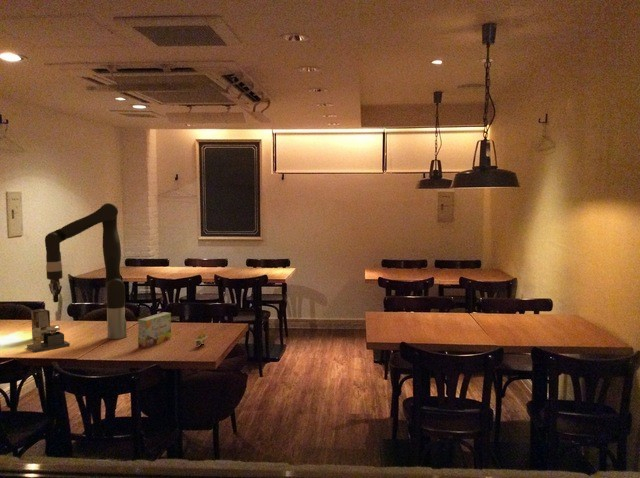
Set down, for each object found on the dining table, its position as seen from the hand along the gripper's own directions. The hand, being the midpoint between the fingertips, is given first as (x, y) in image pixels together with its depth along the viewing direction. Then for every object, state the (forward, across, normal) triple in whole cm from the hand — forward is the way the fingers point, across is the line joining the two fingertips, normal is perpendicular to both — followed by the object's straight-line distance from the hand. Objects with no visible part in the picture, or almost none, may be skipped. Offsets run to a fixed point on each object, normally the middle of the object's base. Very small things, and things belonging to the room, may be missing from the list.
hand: (56, 302), depth 276 cm
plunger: (+16, -4, +6) cm, 18 cm away
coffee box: (+22, +16, +3) cm, 28 cm away
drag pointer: (+18, -4, +11) cm, 21 cm away
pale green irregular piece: (+24, -60, -51) cm, 82 cm away
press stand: (+22, -4, +6) cm, 24 cm away
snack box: (+24, -37, -37) cm, 57 cm away
